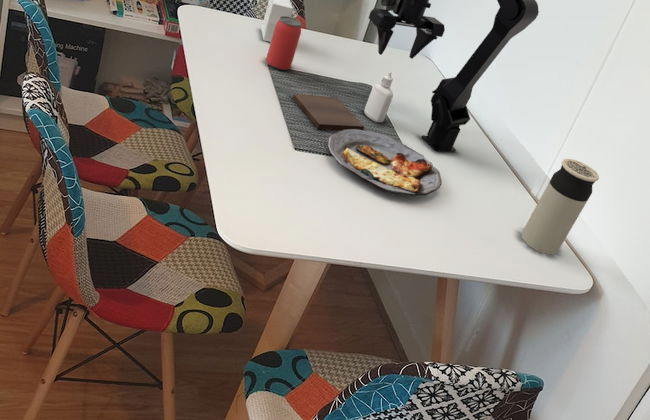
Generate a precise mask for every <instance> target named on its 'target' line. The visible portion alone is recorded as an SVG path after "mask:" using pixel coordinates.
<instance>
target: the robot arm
mask: <svg viewBox="0 0 650 420" xmlns="http://www.w3.org/2000/svg"><path fill="white" fill-rule="evenodd" d="M429 1H430V0H381V1H380V5H381V6H382V7H385V9H384V8H377V7H374V8H373V9H372V10H370V12H369V16H368V19H369V21H371V23H372V24H373V25H374V26H375V27H376V30H377V40H378V41H377V46H378V47H377V48H378V49H377V50H378V51H377V52H378V54H379V55H380V56H381V55H383V54H384V52H385V50H386V49H387V46H388V44H389V42H390V41H391V38H392V36H393V34H394V32H395V31H394V30H393V29H394V28H395V27H396V26H402V27H409V28H415V31H416V33H415V34H416V36H415V38H414V41H413V44H412V46H411V49H410V53H409V56H408V57H409V58H410V59H412V60H413V59H414V58H415V57H416V56H417V55H418V54H419V53H420V52H421V51H423V50H424V48H425V47H427V46H428V45H430V44H431V43H432V42H433V41H434V40H437V39H438V37H439V38H443V36H444V33H445V30H446V29H445V24H444V23H442V22H441V21H440V20H438V19H437V18H436V17H434V16H427V15H424V14H425V13H426V9H430V8H431V6H432V3H430V2H429ZM496 1H497V4H498V6H499V8H498V10H497V12H496V14H495V15H494V20H493V24H492V28H491V29H490V31H489V32H488V33H487V35H486V36H485V37H484V38H483V40H482V41H481V43H480V44H479V45H478V47H477V48H476V49H475V50H474V52H473V53H472V54H471V56H470V57H469V58H468V60H467V61H466V62H465V64H464V65H463V66H462V67H461V68H460V70H459V72H458V73H457V74H456V76H454V77H449V78H443V79H441V81H439V84H438V86H437V87H436V88H435V89H434V90H432V91H431V93H432V96H431V98H430V103H431V115H430V116H431V117H430V120H431V121H432V122H431V124H430V127H429V129H428V131H427V134H426V135H421V139H422V140H423V142H425V143H426V144H427V145H428V146H429V147H430V148H431V149H432V150H433V151H435V152H439V153H440V152H443V153H444V152H445V153H456V152H457V149H456V148H455V147H454V145H455V143H456V141H457V138H458V136H459V134H460V132H461V128H460V126H466V125H467V123H469V121H470V120H471V117H470V114H469V113H470V112H469V110H468V107H467V105H468V103H469V101H470V99H471V97H472V92H473V88H474V86H475V85H476V84H477V82H478V81H479V80H480V79H481V77H482V76H483V75H484V73H485V72H487V69H488V68H489V67H490V66H491V64H492V63H493V62H494V61H495V60H496V58H497V57H498V56H499V54H500V53H501V52H502V50H504V48H505V47H506V46H507V44H508V43H509V42H510V41H511V39H513V38H514V37H515V36H517V35H519V34H520V33H522V32H523V31H524V30H525V29H526V28H527V27H529V26H530V25H532V23H533V22H534V21H535V20H536V19H537V18H538V16H539V14H540V11H539V5H538V2H537V1H536V0H496ZM390 11H391V12H392V13H393V14H395V15H393V14H392V13H391V12H390Z"/></svg>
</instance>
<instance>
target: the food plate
mask: <svg viewBox="0 0 650 420" xmlns="http://www.w3.org/2000/svg"><path fill="white" fill-rule="evenodd" d="M327 144H328V148H329V151H330V153H331V154H332V157H334V159H335V160H336V161H337V162H338V163H339V164H340V165H341V166H344V167H345V168H347V169H348V170H350V171H352V172H353V173H354V174H356V175H357V176H359V177H361V178H363V179H365V180H367V182H369V183H372V184H373V185H376V186H377V187H379V188H381V189H383V190H386V191H388V192H391V193H393V194H400V195H407V196H414V197H417V196H427V195H430V194H432V193H434V192H436V191H437V190H440V188H441V186H443V185H442V184H443V183H442V177H441V173H440V171H439V169H437V167H436V166H434V164H433V163H432V162H431V161H429V160H428V159H427V158H426V157H425V156H424V155H423V154H422V153H420V152H418V151H417V150H416V149H415V150H414V149H413V148H412V147H409V146H408V145H406V144H404V143H402V142H400V141H399V140H396V139H395V138H393V137H391V136H389V135H386V134H382V133H380V132H374V131H369V130H364V129H363V130H358V129H356V130H355V129H352V130H351V129H348V130H344V129H343V130H338V132H335V133H334V134H332V135H330V136H329V137H328V143H327Z"/></svg>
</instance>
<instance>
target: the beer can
mask: <svg viewBox="0 0 650 420" xmlns="http://www.w3.org/2000/svg"><path fill="white" fill-rule="evenodd" d="M301 35H302V22H301V21H300V20H299V19H296V18H294V17H287V16H281V17H280V19H279V20H278V22H277V23H276V25H275V29H274V33H273V36H272V40H271V42H269V43H270V44H269V46H268V50H267V55H266V58H265V62H266V64H267V65H268V66H269V67H271V68H273V69H276V70H279V71H280V70H281V71H287V70H289V69H291V67H292V64H293V61H294V57H295V54H296V51H297V49H298V44H299V41H300V38H301Z"/></svg>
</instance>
